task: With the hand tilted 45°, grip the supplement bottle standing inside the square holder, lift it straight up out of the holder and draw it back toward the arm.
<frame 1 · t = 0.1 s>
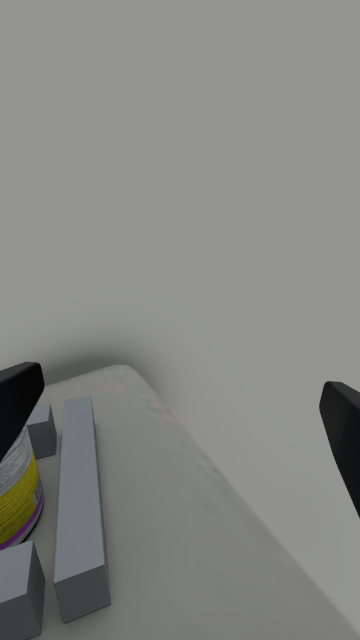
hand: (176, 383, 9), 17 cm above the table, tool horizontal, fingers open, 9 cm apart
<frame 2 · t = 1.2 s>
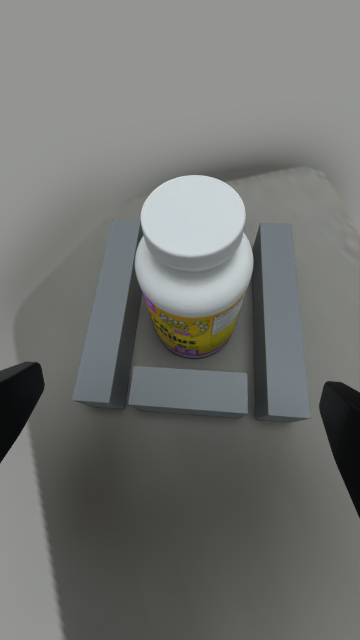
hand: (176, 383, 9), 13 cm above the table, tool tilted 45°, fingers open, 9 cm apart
supplement bottle: (194, 324, 24), resting in cup holder
cup holder: (194, 323, 24), on the table
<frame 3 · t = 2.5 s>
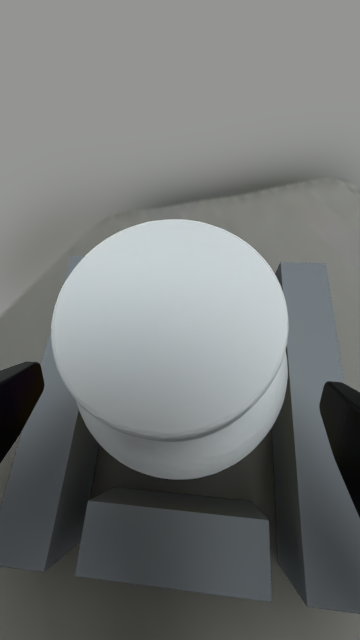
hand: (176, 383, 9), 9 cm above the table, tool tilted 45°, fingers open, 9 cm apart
supplement bottle: (187, 399, 17), resting in cup holder
cup holder: (187, 399, 17), on the table
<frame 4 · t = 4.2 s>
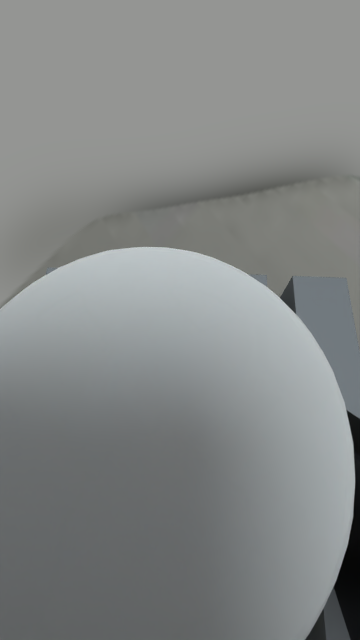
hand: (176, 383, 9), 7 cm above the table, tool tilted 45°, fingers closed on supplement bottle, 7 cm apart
supplement bottle: (183, 434, 15), resting in cup holder, touching gripper
cup holder: (183, 434, 15), on the table
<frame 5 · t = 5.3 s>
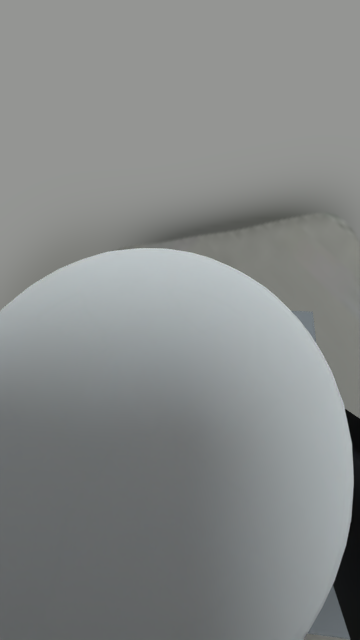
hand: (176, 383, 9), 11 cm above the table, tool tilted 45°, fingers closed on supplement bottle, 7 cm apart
supplement bottle: (183, 433, 15), point 4 cm above the table, touching gripper
cup holder: (186, 432, 19), on the table
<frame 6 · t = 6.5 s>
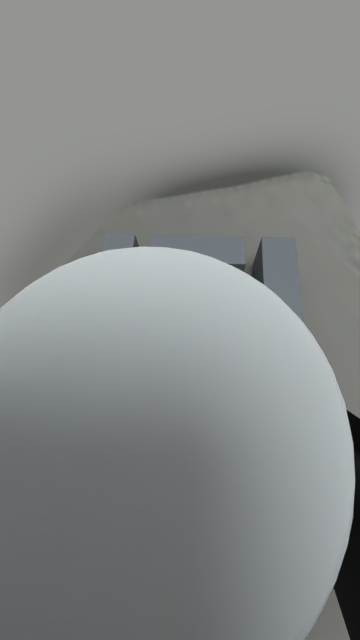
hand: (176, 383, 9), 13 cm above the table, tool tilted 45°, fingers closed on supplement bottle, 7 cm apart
supplement bottle: (183, 433, 15), point 6 cm above the table, touching gripper
cup holder: (192, 341, 23), on the table
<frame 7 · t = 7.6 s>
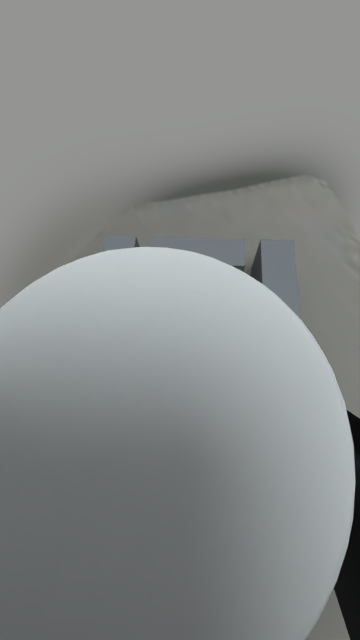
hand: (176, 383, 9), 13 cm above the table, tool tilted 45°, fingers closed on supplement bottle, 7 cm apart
supplement bottle: (183, 433, 15), point 6 cm above the table, touching gripper
cup holder: (192, 342, 23), on the table
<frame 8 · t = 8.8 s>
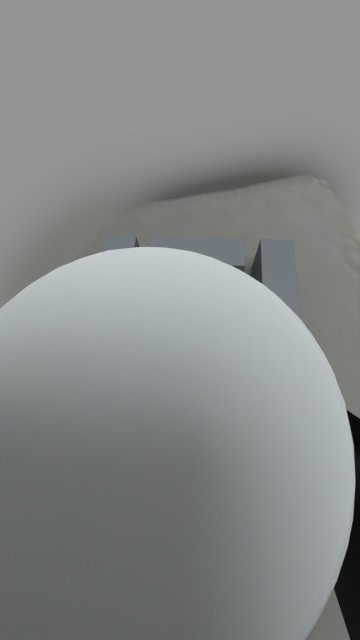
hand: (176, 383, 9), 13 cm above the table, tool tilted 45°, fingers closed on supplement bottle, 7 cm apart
supplement bottle: (183, 433, 15), point 6 cm above the table, touching gripper
cup holder: (192, 342, 23), on the table
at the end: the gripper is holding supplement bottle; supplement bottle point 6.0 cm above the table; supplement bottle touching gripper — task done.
